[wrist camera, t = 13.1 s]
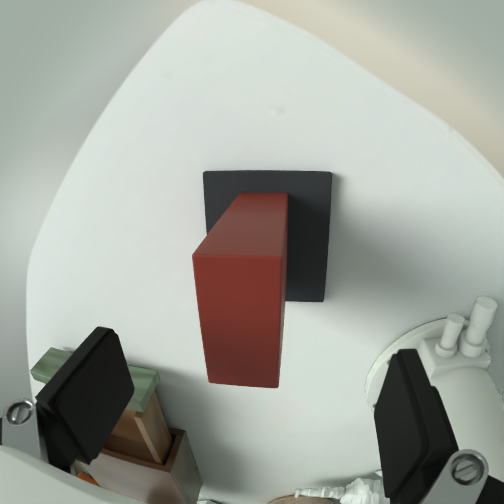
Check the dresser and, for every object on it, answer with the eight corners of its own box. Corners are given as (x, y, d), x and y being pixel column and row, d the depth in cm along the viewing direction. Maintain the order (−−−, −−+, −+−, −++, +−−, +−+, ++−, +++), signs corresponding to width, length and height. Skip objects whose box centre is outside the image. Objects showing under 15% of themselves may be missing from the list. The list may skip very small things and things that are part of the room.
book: (239, 192, 20) (191, 254, 10) (288, 192, 19) (282, 257, 10) (242, 280, 22) (208, 385, 13) (286, 281, 21) (278, 390, 12)
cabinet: (81, 405, 33) (60, 437, 27) (185, 430, 31) (170, 472, 25) (115, 460, 38) (102, 488, 33) (202, 482, 37) (193, 514, 31)
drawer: (47, 338, 27) (25, 361, 23) (154, 360, 26) (136, 394, 22) (89, 423, 33) (76, 446, 29) (182, 448, 31) (172, 476, 27)
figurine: (282, 466, 31) (273, 514, 27) (403, 467, 28) (398, 515, 23) (287, 469, 37) (279, 509, 32) (390, 470, 33) (385, 511, 29)
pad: (205, 171, 20) (202, 172, 19) (330, 171, 19) (331, 173, 18) (213, 294, 23) (211, 298, 23) (322, 298, 22) (323, 302, 22)
